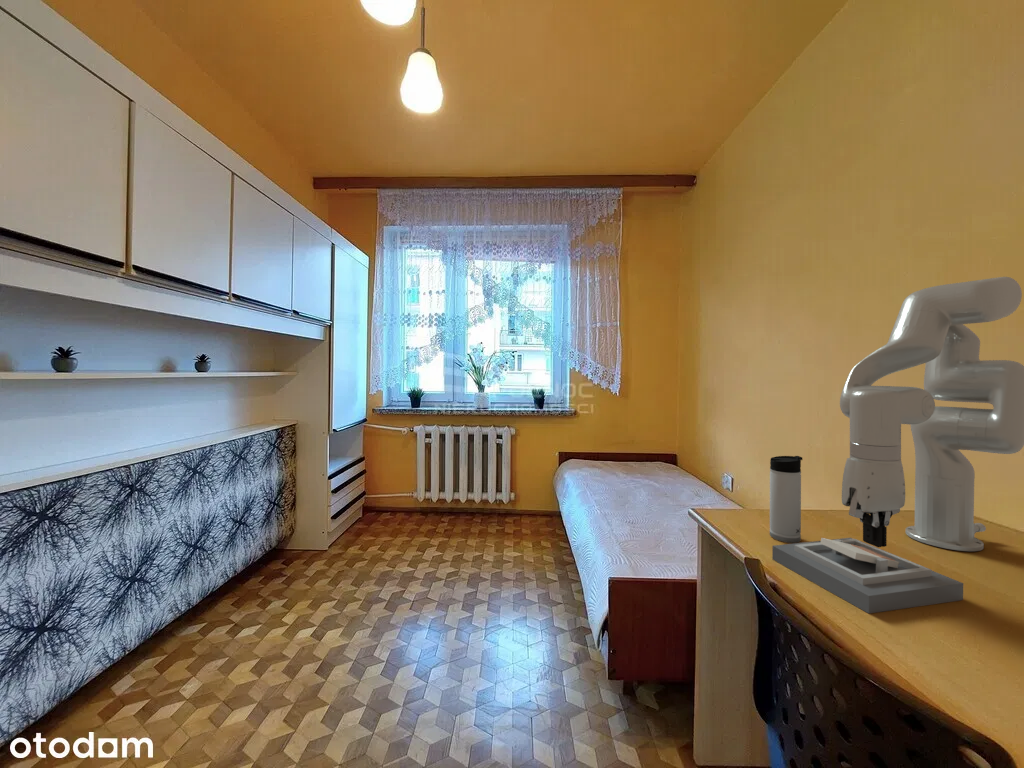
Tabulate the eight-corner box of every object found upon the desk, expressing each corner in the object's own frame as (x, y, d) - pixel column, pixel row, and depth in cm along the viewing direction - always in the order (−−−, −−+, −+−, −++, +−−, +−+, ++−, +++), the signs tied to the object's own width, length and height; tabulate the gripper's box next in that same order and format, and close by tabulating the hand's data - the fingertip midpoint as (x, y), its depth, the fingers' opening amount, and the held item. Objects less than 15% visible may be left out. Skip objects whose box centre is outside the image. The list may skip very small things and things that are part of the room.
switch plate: (850, 550, 91) (850, 526, 91) (963, 599, 71) (963, 568, 71) (772, 559, 88) (772, 533, 87) (868, 613, 68) (868, 580, 68)
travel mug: (807, 544, 95) (808, 459, 94) (776, 542, 96) (776, 458, 96) (794, 533, 101) (795, 453, 100) (765, 531, 102) (765, 453, 102)
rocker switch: (859, 552, 84) (861, 546, 84) (897, 568, 77) (899, 561, 77) (820, 543, 82) (821, 537, 82) (855, 559, 75) (856, 552, 75)
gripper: (885, 446, 84) (885, 532, 85) (824, 451, 82) (824, 540, 83) (928, 453, 77) (927, 548, 78) (862, 459, 74) (862, 557, 75)
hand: (874, 543), depth 80 cm, fingers closed
